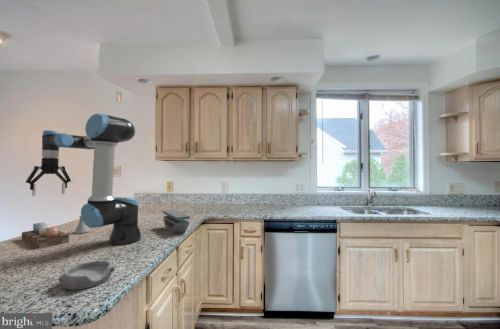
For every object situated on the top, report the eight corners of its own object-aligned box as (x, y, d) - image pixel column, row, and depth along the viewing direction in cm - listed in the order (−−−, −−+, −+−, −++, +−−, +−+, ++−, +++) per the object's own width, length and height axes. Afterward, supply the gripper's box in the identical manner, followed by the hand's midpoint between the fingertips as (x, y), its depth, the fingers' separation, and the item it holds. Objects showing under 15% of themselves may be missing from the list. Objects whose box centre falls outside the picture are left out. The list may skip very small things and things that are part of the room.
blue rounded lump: (46, 232, 132) (46, 223, 133) (35, 234, 128) (35, 225, 128) (43, 231, 135) (43, 222, 135) (31, 233, 131) (31, 223, 131)
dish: (119, 274, 90) (119, 261, 90) (88, 293, 76) (89, 278, 76) (85, 271, 92) (85, 258, 92) (49, 289, 79) (50, 273, 79)
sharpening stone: (189, 234, 145) (189, 216, 145) (176, 236, 140) (176, 217, 140) (174, 225, 164) (174, 209, 165) (162, 227, 160) (163, 210, 160)
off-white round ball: (52, 234, 128) (53, 225, 128) (41, 237, 124) (41, 227, 124) (49, 233, 131) (49, 224, 131) (37, 235, 127) (37, 225, 127)
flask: (82, 234, 141) (82, 217, 141) (71, 233, 142) (72, 216, 142) (92, 231, 148) (92, 214, 148) (82, 230, 149) (83, 214, 150)
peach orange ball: (59, 237, 124) (59, 227, 124) (47, 239, 120) (47, 229, 120) (55, 235, 127) (55, 226, 127) (43, 238, 122) (43, 228, 123)
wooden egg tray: (68, 242, 126) (68, 234, 126) (39, 248, 116) (39, 240, 116) (49, 234, 139) (49, 227, 139) (21, 239, 129) (21, 232, 129)
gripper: (72, 158, 152) (71, 192, 151) (19, 156, 131) (17, 196, 131) (78, 158, 147) (77, 193, 147) (23, 156, 127) (22, 197, 126)
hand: (49, 194), depth 139 cm, fingers open, 13 cm apart
